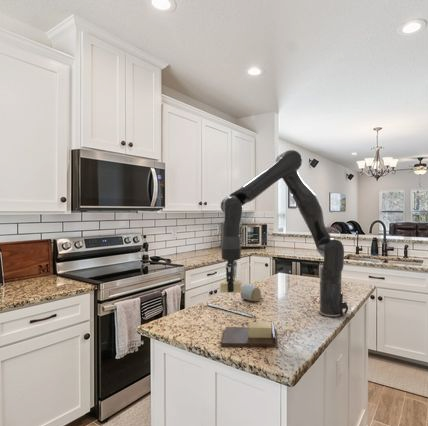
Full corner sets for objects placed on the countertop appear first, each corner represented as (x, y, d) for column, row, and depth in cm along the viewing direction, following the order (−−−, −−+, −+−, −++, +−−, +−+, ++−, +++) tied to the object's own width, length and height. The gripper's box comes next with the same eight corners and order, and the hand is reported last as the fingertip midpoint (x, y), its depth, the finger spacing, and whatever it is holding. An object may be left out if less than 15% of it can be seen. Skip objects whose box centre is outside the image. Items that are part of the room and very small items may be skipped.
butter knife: (210, 302, 146) (206, 303, 144) (254, 315, 129) (250, 317, 127) (210, 303, 146) (206, 305, 144) (254, 316, 129) (250, 318, 127)
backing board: (273, 330, 114) (273, 321, 114) (275, 347, 100) (275, 337, 100) (226, 330, 114) (226, 321, 114) (221, 346, 100) (221, 337, 100)
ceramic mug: (252, 303, 147) (252, 287, 147) (240, 300, 152) (240, 285, 152) (265, 299, 155) (266, 284, 155) (253, 296, 160) (253, 281, 160)
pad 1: (241, 289, 122) (241, 280, 122) (240, 292, 117) (240, 283, 117) (222, 289, 122) (222, 280, 122) (220, 292, 117) (220, 283, 117)
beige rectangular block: (271, 332, 110) (271, 322, 110) (271, 337, 105) (271, 327, 105) (249, 331, 110) (249, 322, 110) (248, 337, 105) (248, 327, 105)
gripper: (239, 249, 112) (239, 295, 112) (242, 244, 126) (242, 285, 126) (219, 249, 112) (219, 295, 112) (224, 244, 126) (224, 285, 126)
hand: (231, 289), depth 119 cm, fingers closed on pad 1, 5 cm apart
